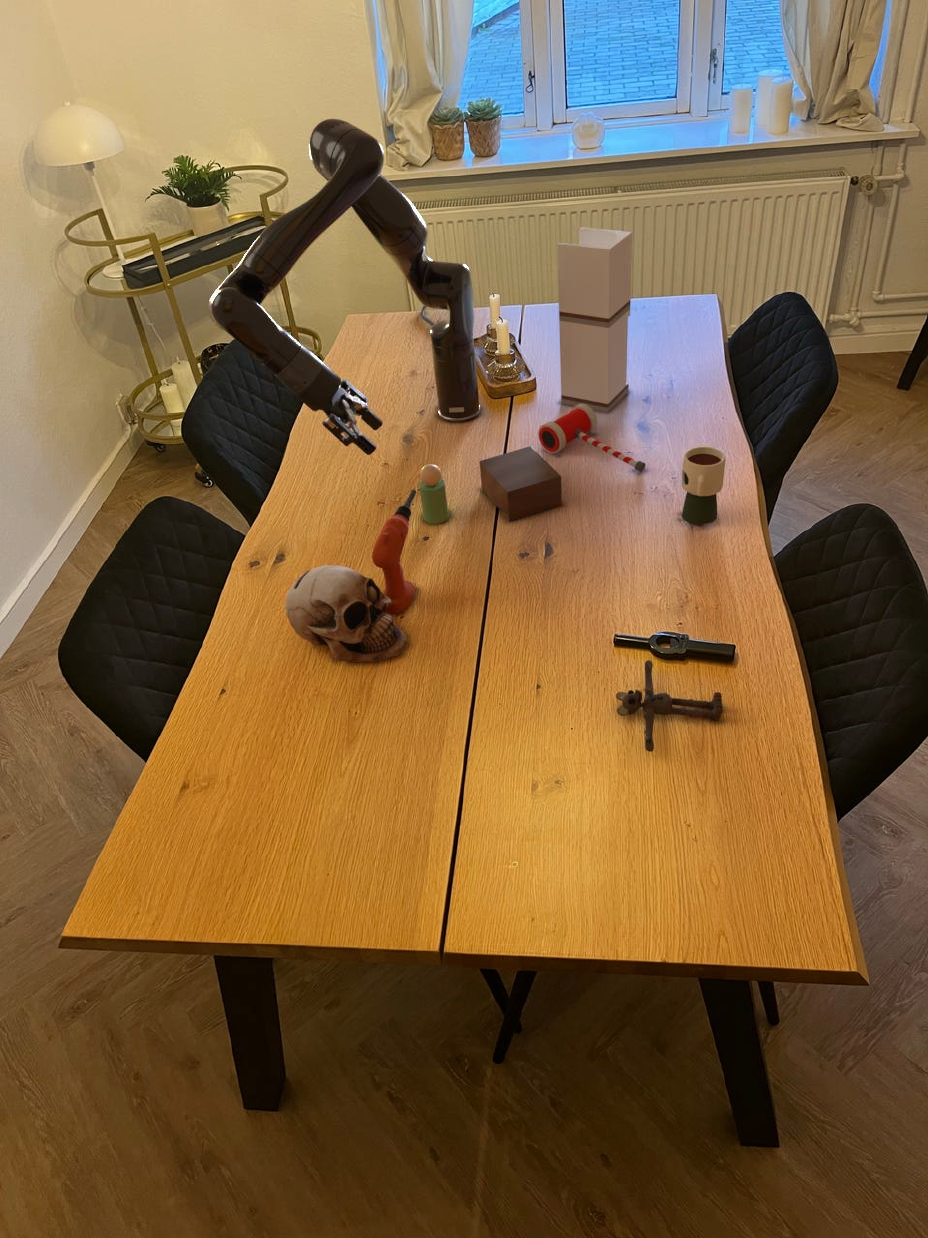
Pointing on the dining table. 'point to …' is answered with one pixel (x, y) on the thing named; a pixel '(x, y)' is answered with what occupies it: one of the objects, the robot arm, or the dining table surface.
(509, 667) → the dining table surface
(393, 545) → the toy drill
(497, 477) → the walnut block
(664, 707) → the bear figurine
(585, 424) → the toy hammer
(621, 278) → the beige tall block
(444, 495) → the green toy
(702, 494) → the character mug
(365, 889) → the dining table surface
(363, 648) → the coin bank
